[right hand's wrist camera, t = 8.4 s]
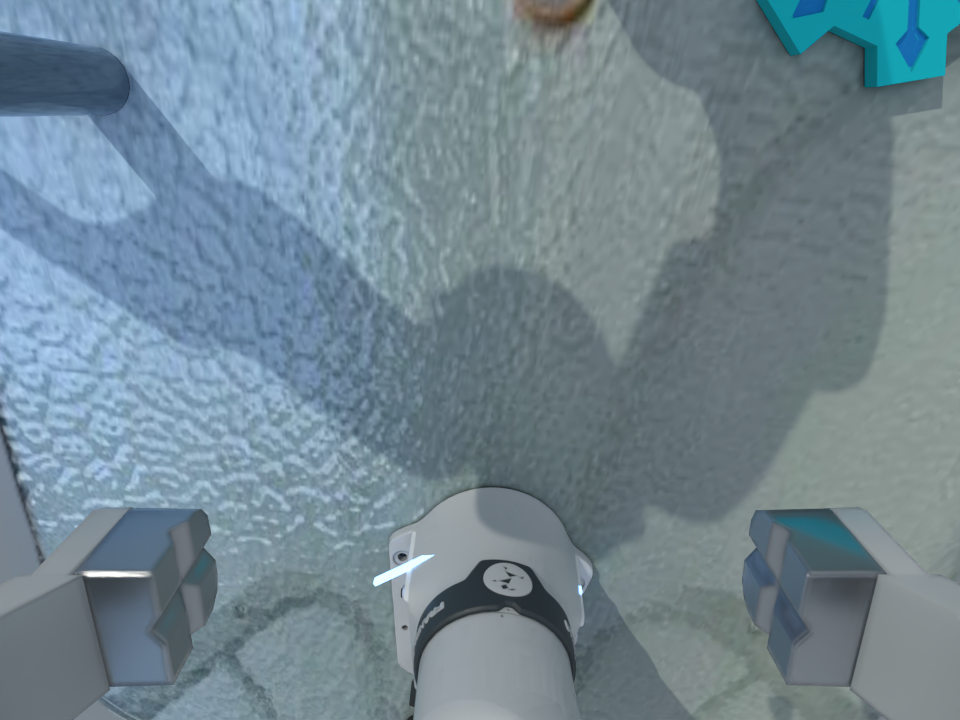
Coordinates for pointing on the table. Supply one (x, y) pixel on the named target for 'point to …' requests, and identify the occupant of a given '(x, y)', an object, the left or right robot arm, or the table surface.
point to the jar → (58, 78)
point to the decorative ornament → (873, 32)
